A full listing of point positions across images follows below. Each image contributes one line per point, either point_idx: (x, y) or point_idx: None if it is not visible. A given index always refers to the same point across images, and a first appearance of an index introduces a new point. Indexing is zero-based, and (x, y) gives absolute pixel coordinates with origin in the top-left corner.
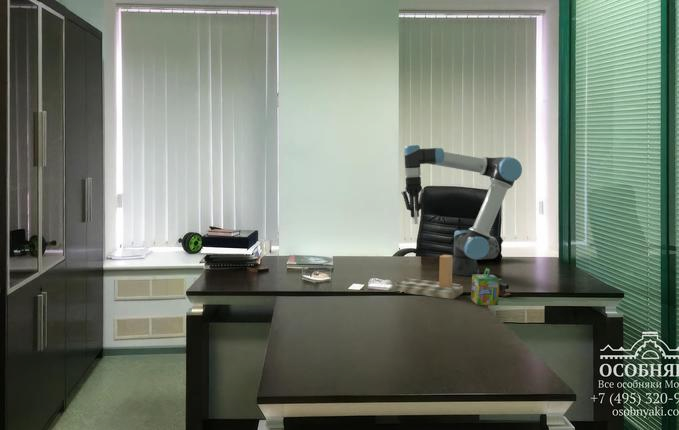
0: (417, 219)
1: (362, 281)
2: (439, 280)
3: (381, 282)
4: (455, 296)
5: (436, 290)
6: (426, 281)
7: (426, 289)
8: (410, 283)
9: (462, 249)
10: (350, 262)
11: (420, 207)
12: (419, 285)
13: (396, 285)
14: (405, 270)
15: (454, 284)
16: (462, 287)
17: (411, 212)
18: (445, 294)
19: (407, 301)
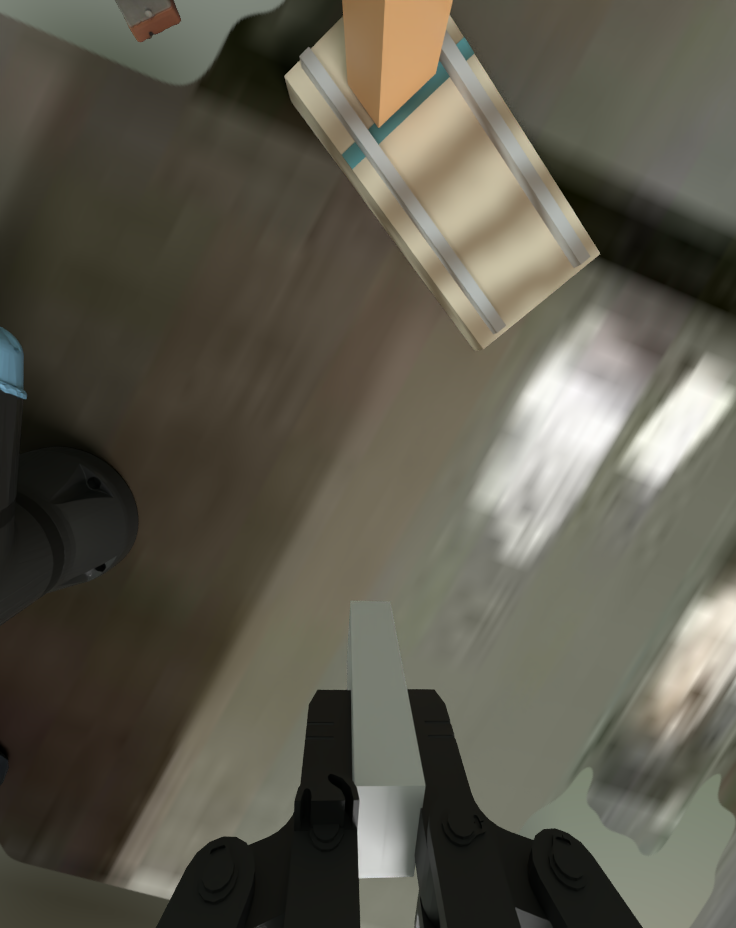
0: (351, 642)
1: (600, 509)
2: (441, 38)
3: (534, 463)
4: None
5: (468, 44)
6: (432, 223)
7: (500, 98)
8: (545, 195)
9: (11, 434)
10: None
11: (236, 893)
12: (517, 146)
13: (594, 245)
14: (310, 648)
15: (331, 78)
16: (290, 74)
17: (465, 787)
18: None
19: (641, 35)
